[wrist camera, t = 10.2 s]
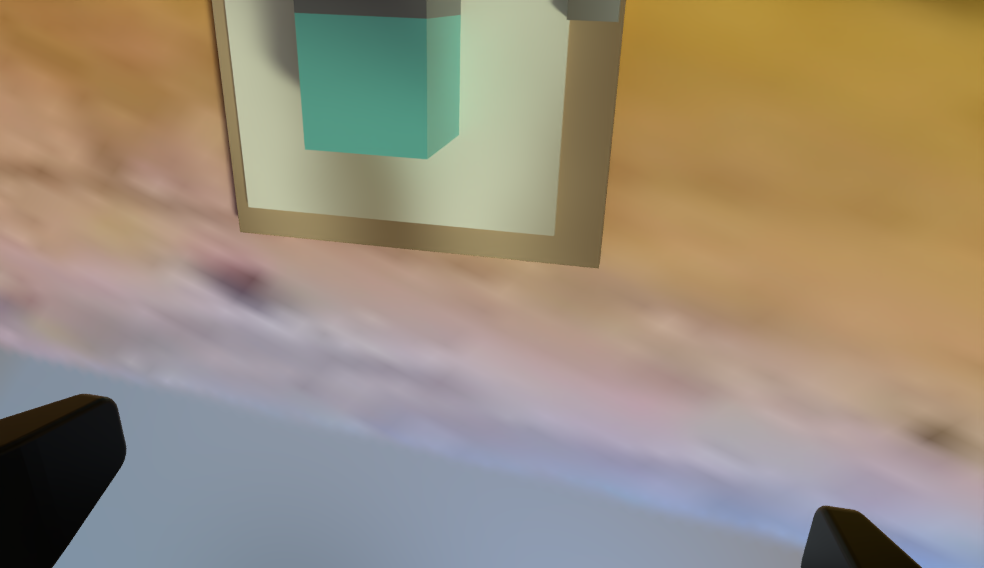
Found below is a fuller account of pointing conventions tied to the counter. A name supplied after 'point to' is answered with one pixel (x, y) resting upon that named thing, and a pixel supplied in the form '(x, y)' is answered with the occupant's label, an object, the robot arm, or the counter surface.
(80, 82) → the counter surface
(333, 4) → the dark gray rectangular block
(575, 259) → the cream flat piece
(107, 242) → the counter surface
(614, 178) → the counter surface
